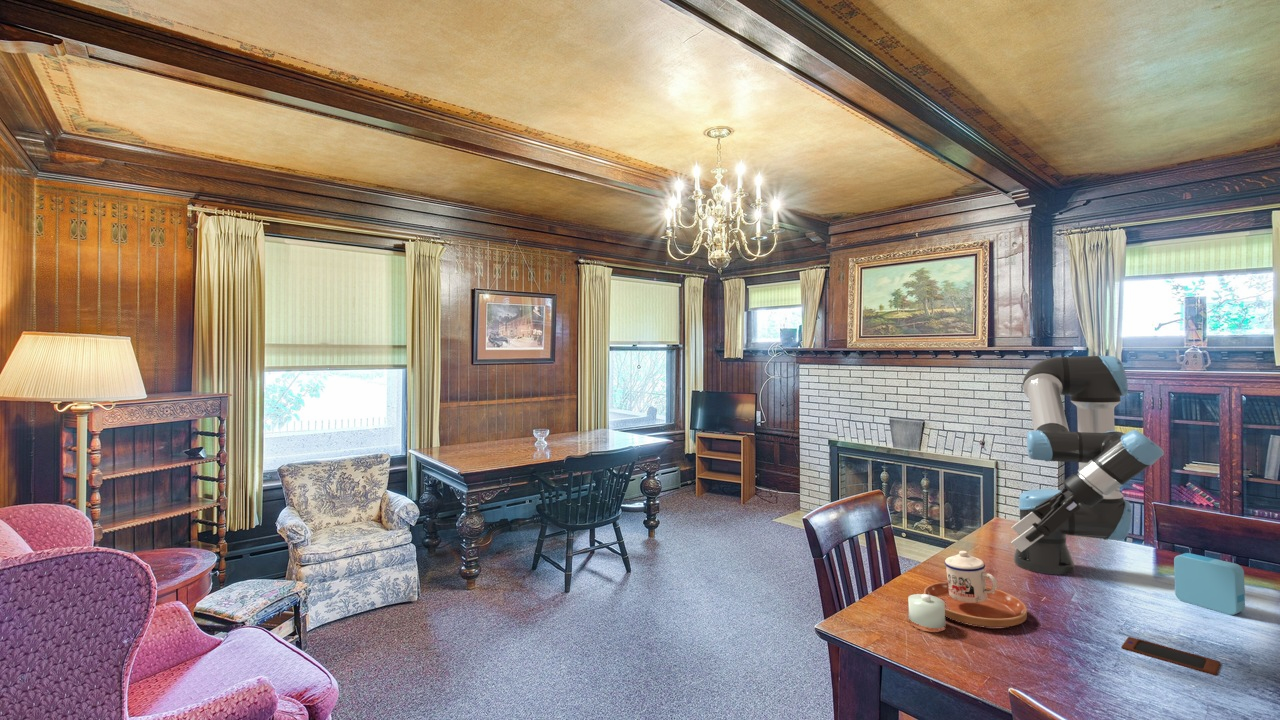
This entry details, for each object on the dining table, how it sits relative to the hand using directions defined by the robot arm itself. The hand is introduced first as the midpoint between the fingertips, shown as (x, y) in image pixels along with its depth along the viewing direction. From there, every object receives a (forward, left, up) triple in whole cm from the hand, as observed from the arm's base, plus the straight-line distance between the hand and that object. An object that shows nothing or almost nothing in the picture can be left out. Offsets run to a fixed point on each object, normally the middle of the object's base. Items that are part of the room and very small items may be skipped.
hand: (1015, 539), depth 141 cm
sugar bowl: (+14, -19, -20) cm, 31 cm away
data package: (-32, +41, -20) cm, 56 cm away
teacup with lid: (+1, -9, -17) cm, 19 cm away
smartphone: (+4, +27, -21) cm, 34 cm away
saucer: (0, -10, -21) cm, 23 cm away
